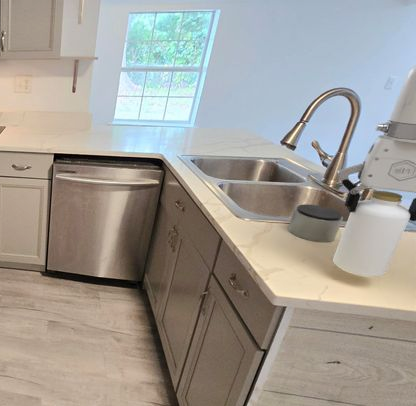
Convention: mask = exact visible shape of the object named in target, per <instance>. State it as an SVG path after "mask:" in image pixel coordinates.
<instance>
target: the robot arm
mask: <svg viewBox="0 0 416 406" xmlns="http://www.w3.org/2000/svg"><path fill="white" fill-rule="evenodd" d="M375 131H378V132H382V133H383V134H382V135H378V137H376V139H375V141H374V142H373V143H372V145H371V146H370V148H369V150H368V151H367V154H366V156H365V158H364V159H363V161H362V163H359V164H355V165H352V166H348V167H345V168H342V169H338V170H337V171H336V174H337V176H338V178H339V180H340V182H341V184H342V185H343V186H344V188H346V189H347V190H348V194H347V196H346V199H345V201H344V206H345V207H346V209H347V210H348V213H351V212H354V211H355V209H356V206H357V204H358V202H359V201H360V198H361V195H360V192H363V191H364V190H366V189H367V188H371V189H381V190H386V191H387V190H388V191H395V192H396V191H397V192H406V193H413V194H416V65H414V66H412V67H411V68H410V69H409V71H408V72H407V74H406V76H405V78H404V82H403V84H402V87H401V89H400V92H399V95H398V97H397V99H396V102H395V105H394V107H393V110H392V112H391V115H390V118H389V119H388V120H387V121H386V122H383V123H377V124H376V126H375ZM354 174H357V180H356V181H355V182H352V181H351V180H350V178H349V176H350V175H354ZM407 210H408V211H409V212H410V214H411V216H410V219H409V221H411V222H416V197H415V198H413V199H412V202H411V203H410V205H409V208H408V209H407Z"/></svg>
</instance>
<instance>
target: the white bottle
mask: <svg viewBox="0 0 416 406" xmlns="http://www.w3.org/2000/svg"><path fill="white" fill-rule="evenodd" d="M402 198H403V196H402V195H401V194H400V193H396V192H392V191H387V190H374V191H373V193H372V194H371V195H370V199H365V200H364V199H363V200H359V201H358V204H357V206H356V209H355V211H354V212H349V216H348V217H347V221H346V223H345V226H344V229H343V231H342V233H341V236H340V239H339V242H338V244H337V248H336V250H335V253H334V255H333V258H332V260H333V263H334V265H335V266H337V268H339V269H340V270H342V271H343V272H346V273H349V274H352V275H355V276H359V277H363V278H379V277H382V276H384V275H385V273H386V272H387V269H388V267H389V265H390V263H391V261H392V259H393V257H394V254H395V253H396V250H397V248H398V245H399V244H400V241H401V239H402V237H403V234H404V232H405V229H406V228H407V226H408V224H409V221H410V216H411V214H410V212H409V211H408V210H409V209H407V208H406V207H404V206H403V205H400V204H401V203H402V201H403V200H402Z"/></svg>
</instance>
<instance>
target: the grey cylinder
mask: <svg viewBox="0 0 416 406" xmlns="http://www.w3.org/2000/svg"><path fill="white" fill-rule="evenodd" d="M343 220H344V217H343V215H342V213H341V212H339V211H337V210H335V209H333V208H330V207H327V206H323V205H317V204H299V205H297V206H296V207H295V208H294V210H293V213H292V215H291V218H290V221H289V223H288V226H287V231H288V232H289V233H290V234H291V235H294V236H296V237H298V238H301V239H304V240H308V241H311V242H316V243H331V242H333V241H335V239H336V237H337V235H338V232H339V230H340V227H341V224H342V223H343Z"/></svg>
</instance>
